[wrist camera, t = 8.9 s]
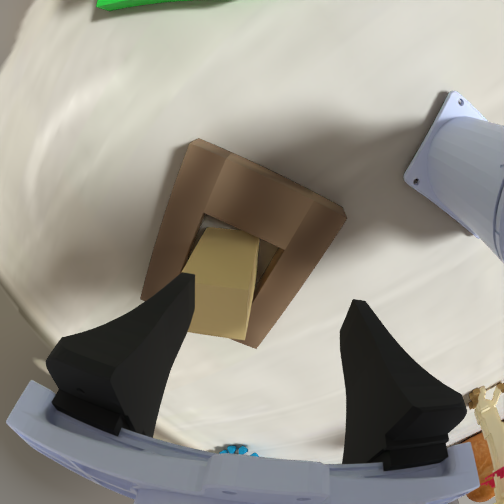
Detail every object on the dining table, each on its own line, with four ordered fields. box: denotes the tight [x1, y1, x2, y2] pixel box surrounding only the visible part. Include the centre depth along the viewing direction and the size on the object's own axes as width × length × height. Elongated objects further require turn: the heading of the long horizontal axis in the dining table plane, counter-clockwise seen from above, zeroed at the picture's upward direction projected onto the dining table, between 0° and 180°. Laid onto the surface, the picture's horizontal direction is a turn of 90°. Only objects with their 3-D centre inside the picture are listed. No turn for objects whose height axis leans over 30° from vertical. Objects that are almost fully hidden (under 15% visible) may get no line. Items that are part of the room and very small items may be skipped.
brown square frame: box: [140, 138, 347, 349], centre depth 22 cm, size 11×14×2 cm
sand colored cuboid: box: [181, 227, 260, 340], centre depth 20 cm, size 4×4×7 cm
